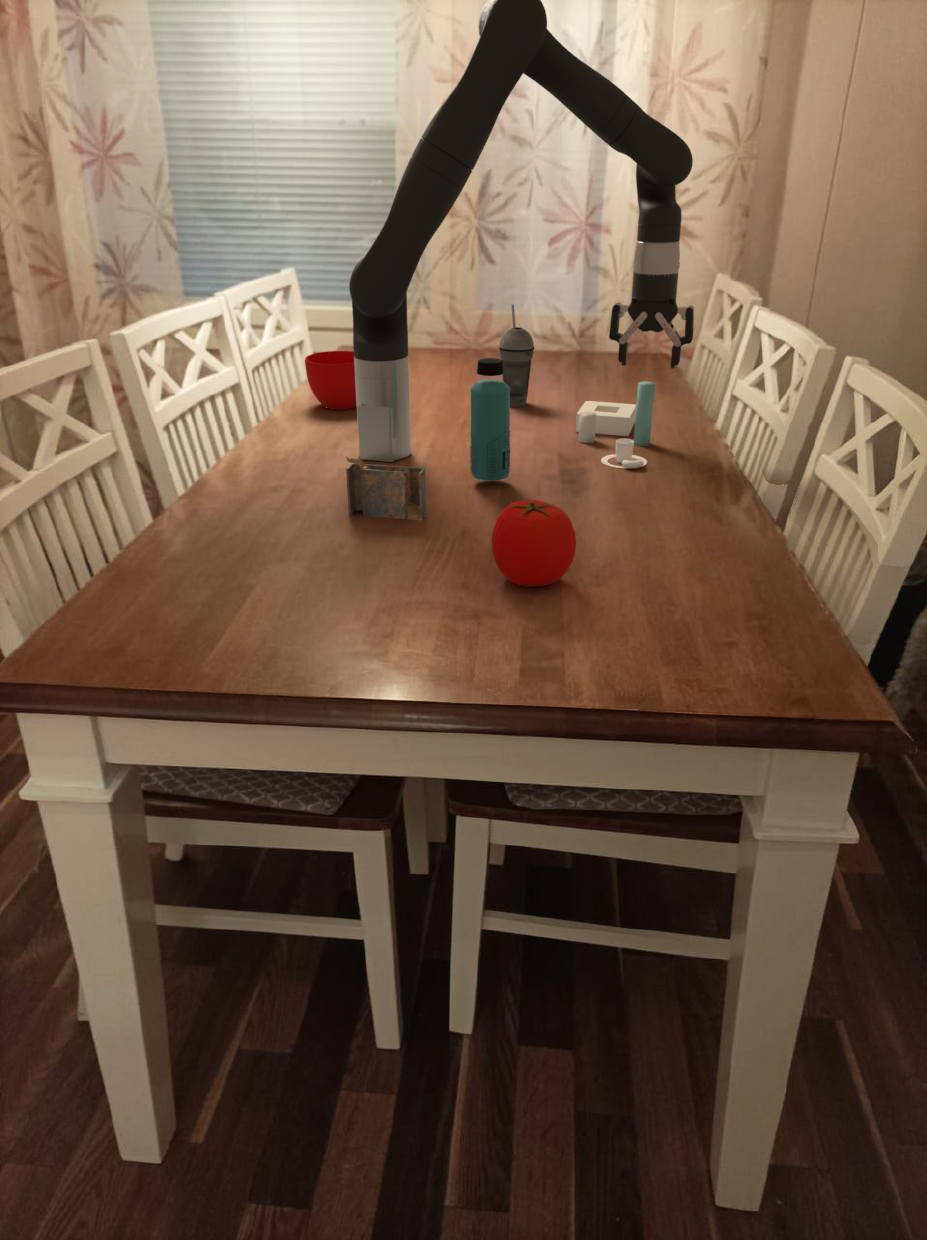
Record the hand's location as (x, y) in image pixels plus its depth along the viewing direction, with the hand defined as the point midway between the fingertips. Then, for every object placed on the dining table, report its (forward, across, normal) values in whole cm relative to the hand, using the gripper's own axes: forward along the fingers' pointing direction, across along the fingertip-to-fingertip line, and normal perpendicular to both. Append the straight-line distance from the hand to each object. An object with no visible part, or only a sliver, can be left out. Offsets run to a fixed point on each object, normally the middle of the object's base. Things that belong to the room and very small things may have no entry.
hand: (648, 366), depth 170 cm
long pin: (+14, 0, 0) cm, 14 cm away
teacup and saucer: (+15, -3, -14) cm, 21 cm away
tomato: (+14, -6, -64) cm, 66 cm away
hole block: (+14, -8, +9) cm, 19 cm away
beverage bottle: (+14, -21, -29) cm, 39 cm away
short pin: (+14, -10, -1) cm, 17 cm away
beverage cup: (+14, -29, +21) cm, 39 cm away
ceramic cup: (+14, -62, +10) cm, 64 cm away
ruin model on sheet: (+14, -32, -47) cm, 59 cm away
